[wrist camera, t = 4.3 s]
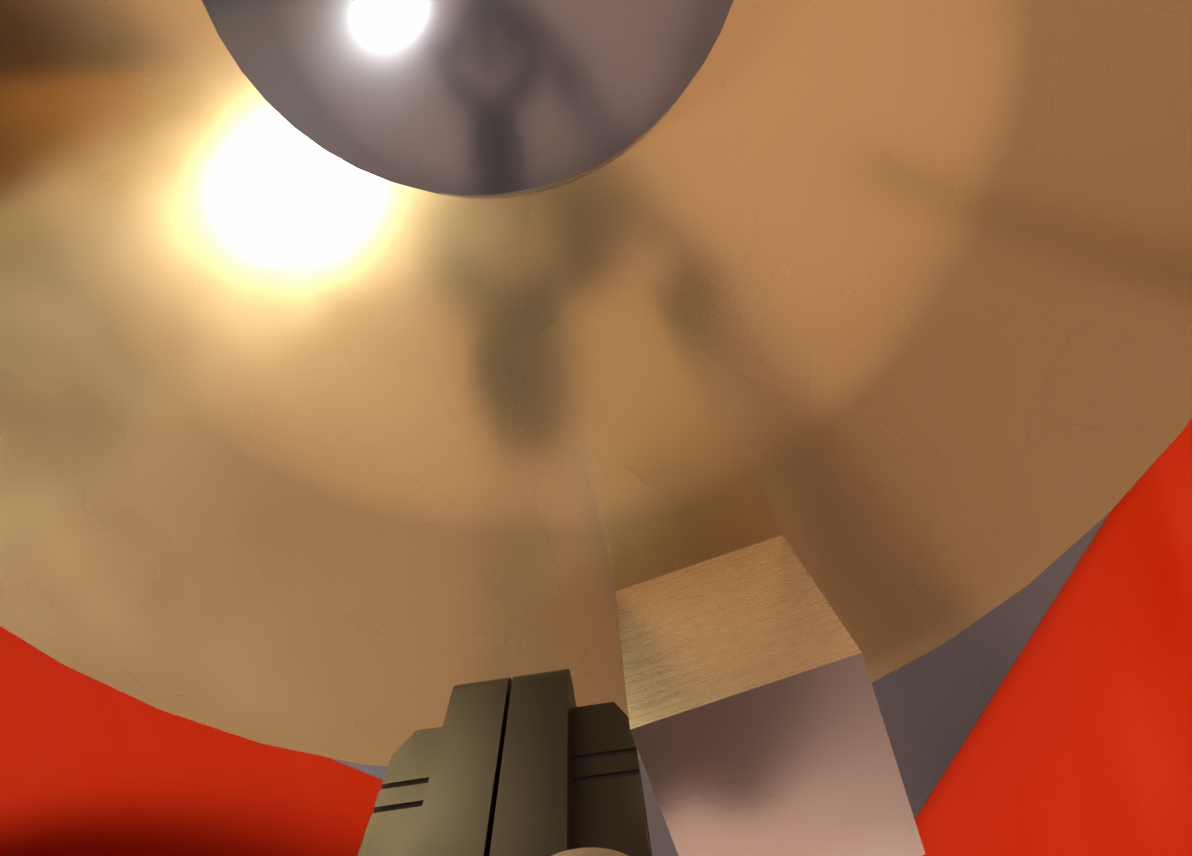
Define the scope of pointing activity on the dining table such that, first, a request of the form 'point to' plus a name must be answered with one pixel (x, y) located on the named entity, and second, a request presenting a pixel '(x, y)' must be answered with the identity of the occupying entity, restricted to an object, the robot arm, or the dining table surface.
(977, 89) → the round brass tray
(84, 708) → the dining table surface
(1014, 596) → the base plate
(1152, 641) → the dining table surface
